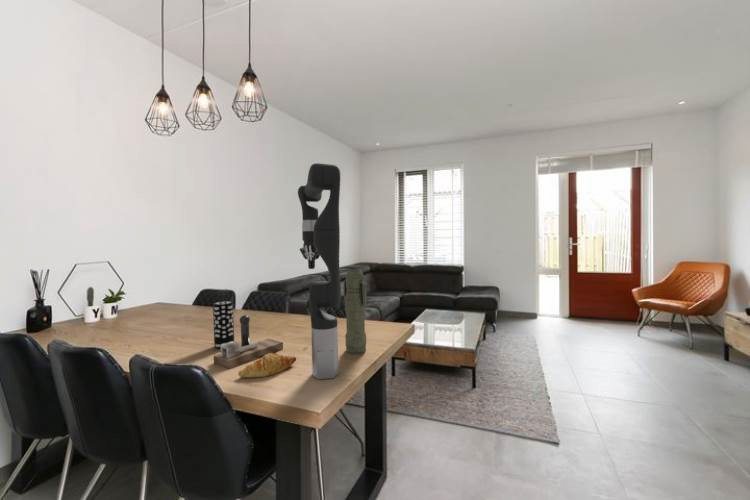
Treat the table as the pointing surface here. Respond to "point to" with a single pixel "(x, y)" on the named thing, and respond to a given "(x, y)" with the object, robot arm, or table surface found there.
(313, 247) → the robot arm
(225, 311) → the spotted tube
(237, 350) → the door board
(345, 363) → the table surface
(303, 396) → the table surface
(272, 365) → the croissant
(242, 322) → the bolt
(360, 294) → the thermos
